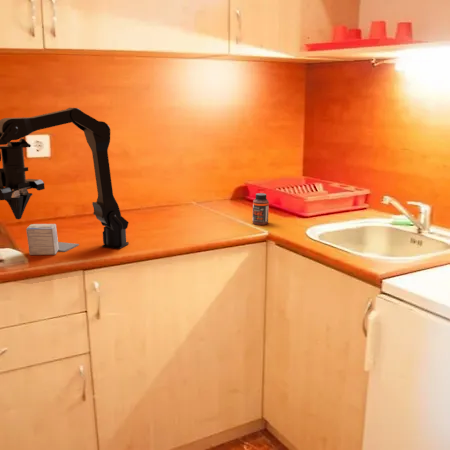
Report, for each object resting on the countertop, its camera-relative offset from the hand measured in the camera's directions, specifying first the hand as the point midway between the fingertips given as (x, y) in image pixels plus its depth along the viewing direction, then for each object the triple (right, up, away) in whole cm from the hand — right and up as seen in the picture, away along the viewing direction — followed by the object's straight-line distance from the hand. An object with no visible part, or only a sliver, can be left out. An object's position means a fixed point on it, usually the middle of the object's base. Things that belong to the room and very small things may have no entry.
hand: (18, 219), depth 153 cm
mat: (+6, -9, +19) cm, 21 cm away
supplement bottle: (+72, -1, +50) cm, 88 cm away
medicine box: (+3, -10, +12) cm, 16 cm away
